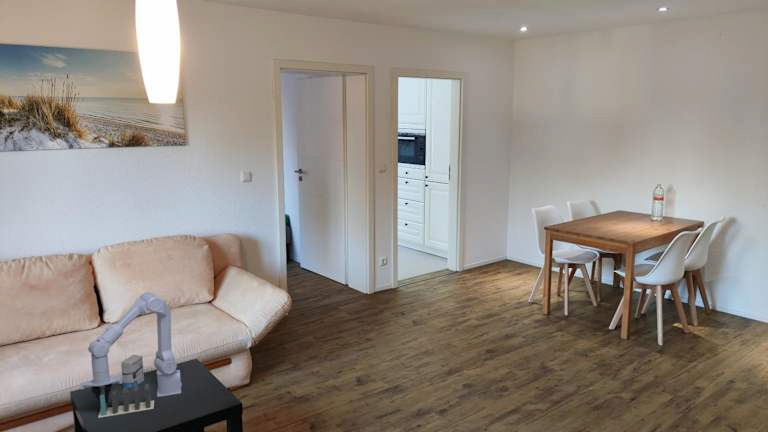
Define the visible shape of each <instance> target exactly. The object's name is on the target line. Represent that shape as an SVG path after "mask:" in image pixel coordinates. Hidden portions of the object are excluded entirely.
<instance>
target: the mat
mask: <svg viewBox="0 0 768 432" xmlns="http://www.w3.org/2000/svg"><path fill="white" fill-rule="evenodd" d="M129 404H130V403H129ZM154 406H155V400H151V407H150V408H146V401H143V402H141V401H140V410H135V403H131V404H130V407H129V411H128V412H124V404H123V405H119V409H118V413H116V414H113V408H112V407H111V406H110V407H108V410H107V414H106V415H104V416H102V414H101V408H100V409H99V413H98V417H97V418H98V419H100V418H104V417H105V418H106V417H111V416H118V415H125V414H129V413H134V412H135V413H136V412H141V411H146V410H147V411H148V410H153V409H154Z"/></svg>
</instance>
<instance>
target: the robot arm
mask: <svg viewBox="0 0 768 432" xmlns="http://www.w3.org/2000/svg"><path fill="white" fill-rule="evenodd" d="M171 311H172V310H171V308H170V307H169V305H168V304H167V302H166V301H165V299H163V298H161V297H159V296H158V295H156V294H154V293H152V292H149V291H146V292H144V293H142V294H141V295H140V296H139V297H138V298H136V299H135V301H134V303H133V304H132V306H130V307H129V309H128V310H127V311H126V312H125V314H124V315H123V316H122V317H121V318H120V319H119V320H118V322H117V323H114V324H110V325H108V326H106V328H105V331H103V333H101V334H100V336H97V337H96V339H93V340H92V341H91V342H90V343H89V346H88V348H87V351H88V352H90V355H91V356H90V357H91V369H92V372H91V373H92V378H93V380H89V381H88V380H87V381H84V382H81V383H80V390H84V389H89V388H91V393H93V394H94V396H95V398H96V399H97V401H98V405H100V406H101V403H100V395H101V391H102V389H101V387H102V386H104V388H103V391H105V402H106V403H107V404H108V403H109V395H110V392H111V389H112V387H113V385H116V384H119V385H120V384H122V385H123V380H122V376H117V377H116V376H115V377H112V376H111V377H110V368H109V367H110V366H109V357H108V354H109V352H110V349H111V347H112V346H113V345H114V344H115V343H116V342H117V341H118V340H119V339H120V338H121V337H122V336H123V334H124V329H126V327H127V326H129V324H131V323H132V322H133V321H134V320H135V319H136V318H137V317H138V316H139V315H146V314H149V312H151V313H155V314H156V316H157V317H156V319H157V320H156V322H157V323H156V324H157V331H156V332H157V351H156V352H155V358H154V361H153V366H154V367H155V368H156V379H157V392H156V395H157V396H156V397H157V398H161V397H166V396H172V395H179V394H182V387H183V383H182V380H181V378H182V377H181V370H180V369H177V367H178V364H177V361H176V360H175V359H176V358H175V355H174V352H173V351H172V318H171V317H172V316H171V315H172V314H171V313H172V312H171Z"/></svg>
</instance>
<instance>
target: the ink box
mask: <svg viewBox="0 0 768 432" xmlns="http://www.w3.org/2000/svg"><path fill="white" fill-rule="evenodd" d="M120 364H121V377H122V380H123V382H122V389H123V388H125V387H128V389H131V390H132V389H133V390H134V386H138V385H140V384H141V383H143V382H144V381H145V376H144V374H145V373H144V372H145V371H144V361H143V355H138V354H137V355H136V354H132V355H130V356H129V357H126V359H124V360H122V361H121V362H120Z"/></svg>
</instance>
